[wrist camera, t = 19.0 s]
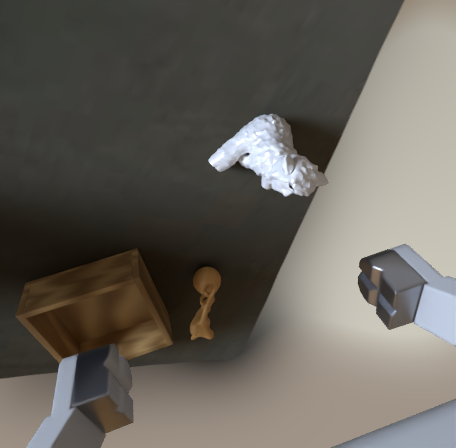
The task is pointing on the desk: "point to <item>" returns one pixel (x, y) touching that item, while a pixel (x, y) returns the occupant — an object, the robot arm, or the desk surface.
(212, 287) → the figurine
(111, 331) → the wooden tray
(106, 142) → the desk surface
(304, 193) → the white creature statuette
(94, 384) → the robot arm
